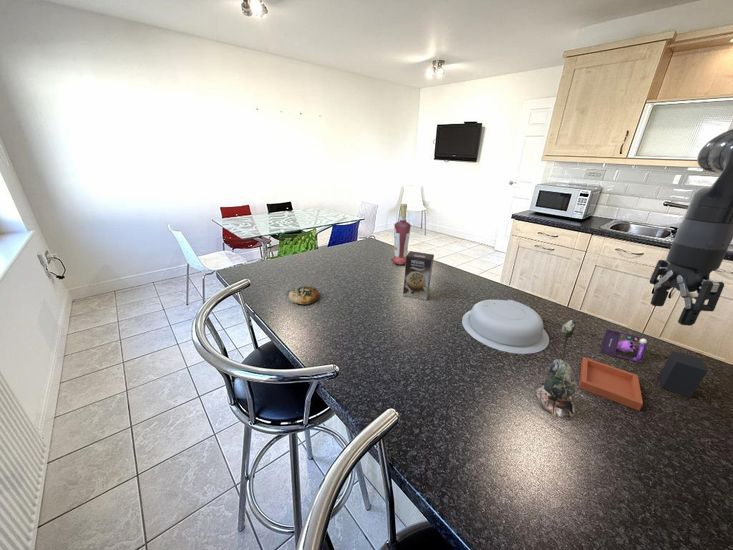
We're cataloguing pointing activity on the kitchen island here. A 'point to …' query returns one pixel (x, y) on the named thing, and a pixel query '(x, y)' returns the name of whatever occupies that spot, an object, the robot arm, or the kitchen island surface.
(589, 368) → the base pad
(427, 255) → the dark cardboard box
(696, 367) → the pad block
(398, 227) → the liquor
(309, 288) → the bread roll
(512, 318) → the grey round dish
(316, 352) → the kitchen island surface
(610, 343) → the purple box
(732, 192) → the robot arm
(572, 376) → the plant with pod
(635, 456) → the kitchen island surface
